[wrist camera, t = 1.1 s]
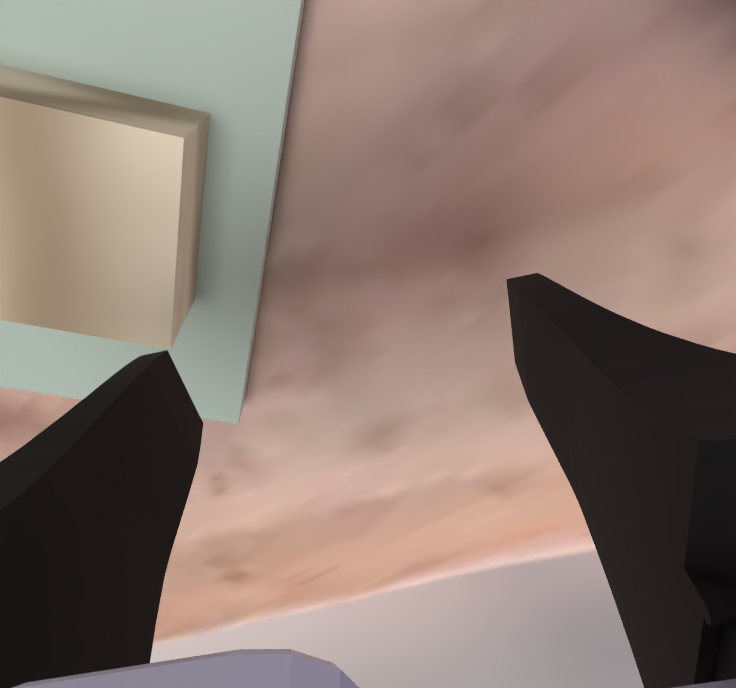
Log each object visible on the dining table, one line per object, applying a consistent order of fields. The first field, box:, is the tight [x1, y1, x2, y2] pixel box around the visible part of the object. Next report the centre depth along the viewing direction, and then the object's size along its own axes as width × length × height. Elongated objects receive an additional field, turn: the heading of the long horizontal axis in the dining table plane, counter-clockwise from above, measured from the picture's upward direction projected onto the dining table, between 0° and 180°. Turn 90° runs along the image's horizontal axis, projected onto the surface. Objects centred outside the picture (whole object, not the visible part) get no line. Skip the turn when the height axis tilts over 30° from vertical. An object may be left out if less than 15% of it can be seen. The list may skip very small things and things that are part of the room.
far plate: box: [0, 0, 305, 424], centre depth 18 cm, size 11×16×2 cm
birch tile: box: [0, 64, 210, 350], centre depth 16 cm, size 6×6×3 cm
